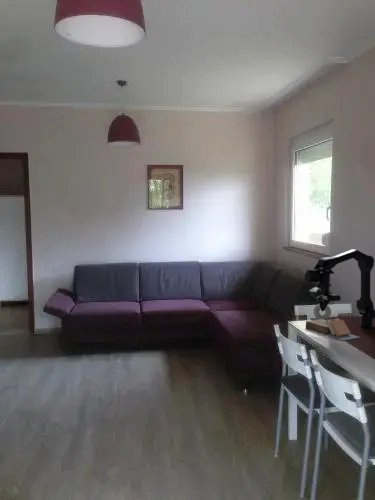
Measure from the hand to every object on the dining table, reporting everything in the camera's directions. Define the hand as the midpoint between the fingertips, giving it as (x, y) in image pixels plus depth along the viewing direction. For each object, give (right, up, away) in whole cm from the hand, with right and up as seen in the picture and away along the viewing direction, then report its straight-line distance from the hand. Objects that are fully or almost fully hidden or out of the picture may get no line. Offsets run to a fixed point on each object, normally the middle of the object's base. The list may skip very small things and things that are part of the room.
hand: (322, 311), depth 239 cm
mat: (+7, -11, -11) cm, 17 cm away
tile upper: (+5, -8, -10) cm, 13 cm away
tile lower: (+4, -8, -7) cm, 11 cm away
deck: (+1, -10, 0) cm, 10 cm away
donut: (+6, -9, +23) cm, 25 cm away
